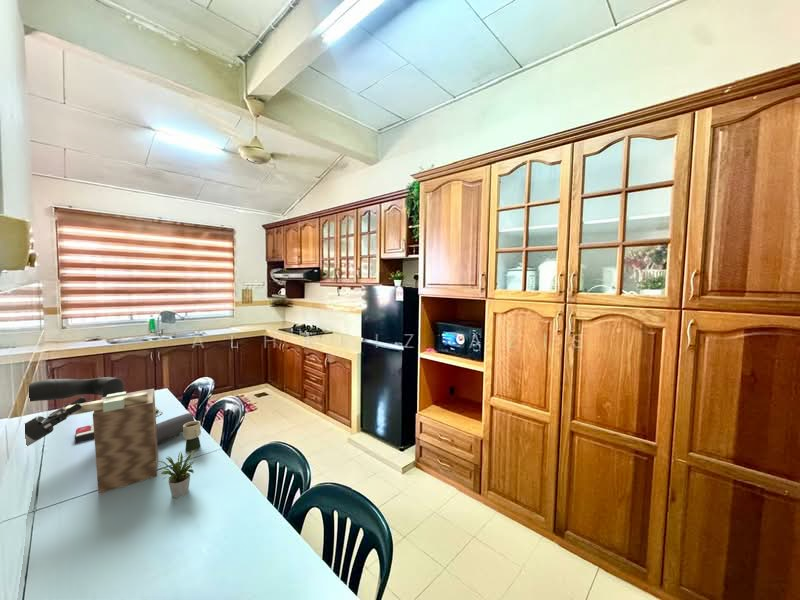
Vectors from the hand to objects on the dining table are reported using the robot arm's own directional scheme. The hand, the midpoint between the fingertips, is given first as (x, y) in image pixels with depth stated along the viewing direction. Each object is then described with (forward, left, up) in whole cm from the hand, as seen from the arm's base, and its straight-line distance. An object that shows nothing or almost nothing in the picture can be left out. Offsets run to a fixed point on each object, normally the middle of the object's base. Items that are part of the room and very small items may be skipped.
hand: (82, 401), depth 121 cm
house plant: (+2, +37, -36) cm, 52 cm away
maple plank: (-5, +6, -4) cm, 8 cm away
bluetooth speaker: (-40, -1, -36) cm, 54 cm away
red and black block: (-43, -47, -37) cm, 74 cm away
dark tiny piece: (-64, -42, -37) cm, 85 cm away
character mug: (-30, +20, -36) cm, 51 cm away
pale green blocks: (-6, +7, -4) cm, 10 cm away
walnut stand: (-12, +6, -36) cm, 38 cm away
